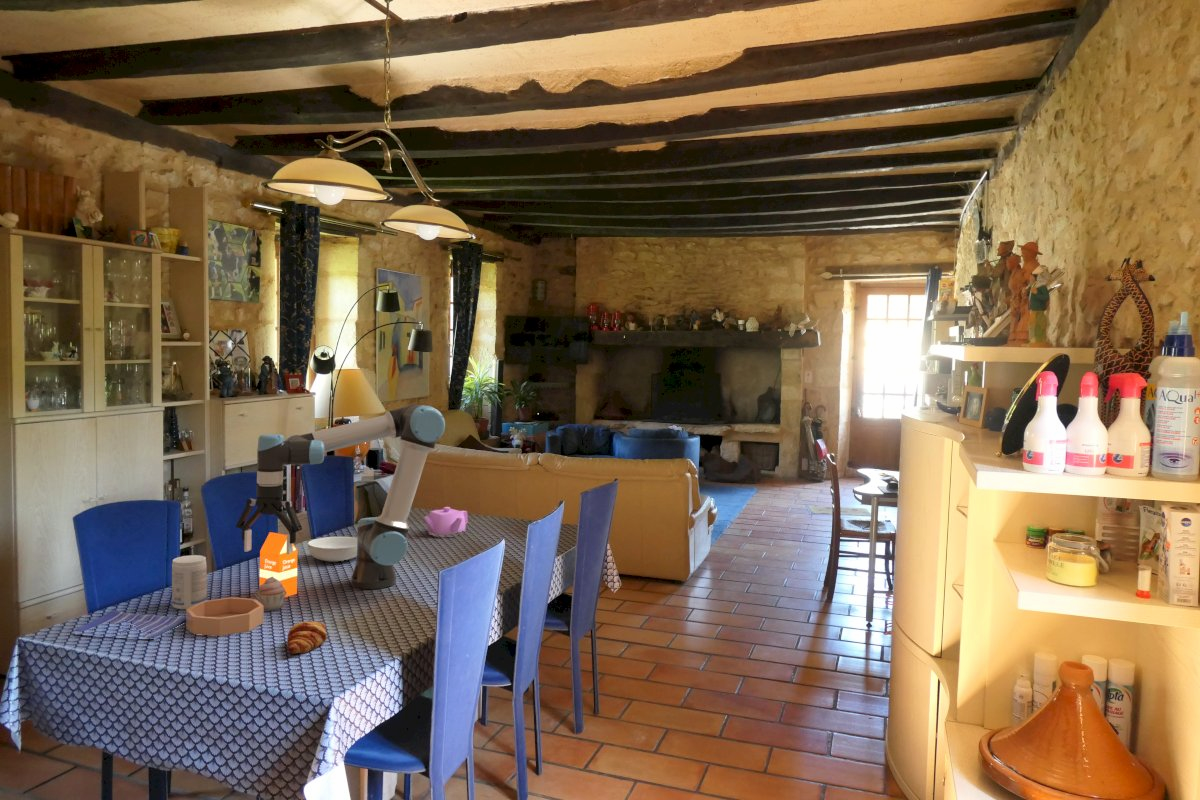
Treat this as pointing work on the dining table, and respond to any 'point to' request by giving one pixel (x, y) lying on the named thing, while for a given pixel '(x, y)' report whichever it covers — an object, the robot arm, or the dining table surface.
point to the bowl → (224, 616)
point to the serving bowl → (333, 548)
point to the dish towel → (138, 622)
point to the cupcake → (271, 594)
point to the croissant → (305, 637)
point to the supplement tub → (189, 581)
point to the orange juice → (279, 562)
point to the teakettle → (446, 521)
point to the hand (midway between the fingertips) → (268, 552)
